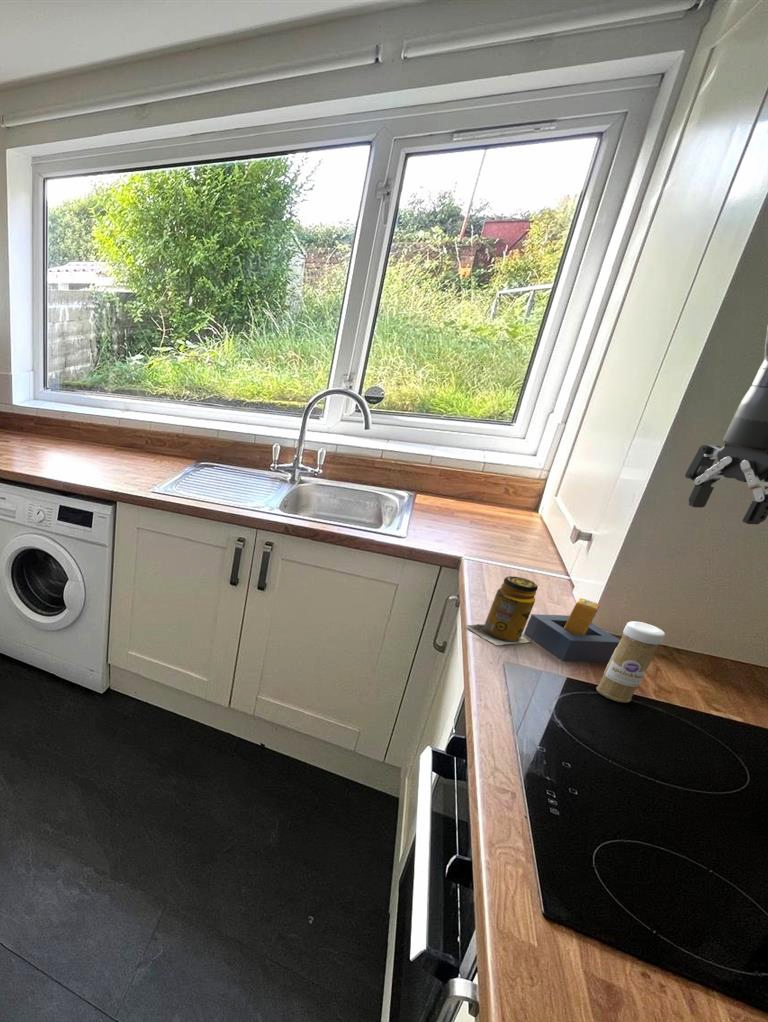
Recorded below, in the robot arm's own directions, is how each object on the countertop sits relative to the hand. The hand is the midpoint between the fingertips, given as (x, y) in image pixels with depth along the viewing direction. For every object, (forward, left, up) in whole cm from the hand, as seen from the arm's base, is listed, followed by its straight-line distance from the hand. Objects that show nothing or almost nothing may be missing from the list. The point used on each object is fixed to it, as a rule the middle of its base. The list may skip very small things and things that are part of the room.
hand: (722, 514), depth 97 cm
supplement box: (+5, +11, -30) cm, 32 cm away
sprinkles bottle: (-10, +15, -30) cm, 35 cm away
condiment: (+9, +22, -30) cm, 38 cm away
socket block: (+5, +11, -30) cm, 32 cm away
